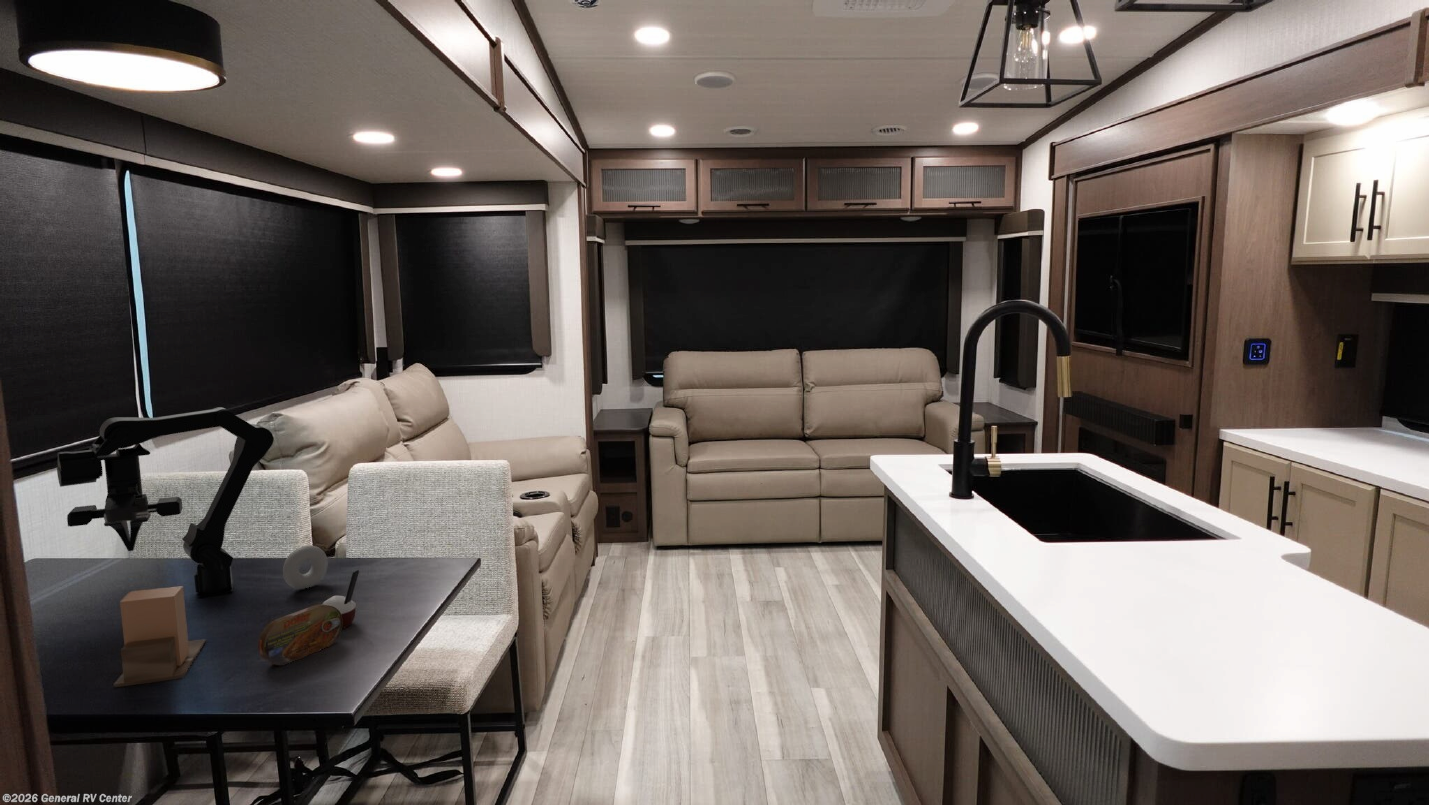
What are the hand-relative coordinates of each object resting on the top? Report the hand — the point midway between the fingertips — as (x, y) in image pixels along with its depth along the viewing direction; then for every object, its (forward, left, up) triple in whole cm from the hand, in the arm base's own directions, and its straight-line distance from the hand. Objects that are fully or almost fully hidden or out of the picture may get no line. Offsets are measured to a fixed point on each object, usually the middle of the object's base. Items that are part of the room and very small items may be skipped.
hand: (131, 550), depth 163 cm
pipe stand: (-8, +32, -13) cm, 35 cm away
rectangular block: (-7, +34, -13) cm, 37 cm away
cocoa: (-37, +30, -13) cm, 49 cm away
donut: (-32, +4, -13) cm, 35 cm away
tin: (-30, +40, -13) cm, 52 cm away
